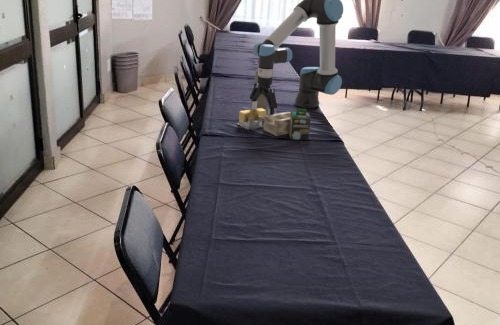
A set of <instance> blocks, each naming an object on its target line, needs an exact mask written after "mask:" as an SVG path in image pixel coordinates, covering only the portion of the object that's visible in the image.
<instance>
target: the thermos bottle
mask: <svg viewBox="0 0 500 325" xmlns="http://www.w3.org/2000/svg"><path fill="white" fill-rule="evenodd" d="M258 66H259V64H258V65H257V66H256V69H255V76H254V83H257V79H258V76H259V75H258ZM256 101H257V109H258V108H262V109H265V110H266V111H267V108H268V102H267V99H266V97H265V96H264V95H263V94H261V95H260V96H259V97H258V99H257V100H256Z"/></svg>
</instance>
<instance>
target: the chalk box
mask: <svg viewBox="0 0 500 325" xmlns="http://www.w3.org/2000/svg"><path fill="white" fill-rule="evenodd" d="M307 109H308V108H297V109H296V111H290V113H291V116H290V128H289V133H288V135H289V140H297V141H298V140H299V141H309V139H310V132H311V131H310V130H311V122H312V118H311V115H310V112H307V111H308V110H307Z"/></svg>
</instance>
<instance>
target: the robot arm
mask: <svg viewBox="0 0 500 325" xmlns="http://www.w3.org/2000/svg"><path fill="white" fill-rule="evenodd" d="M343 13H344V4H343V2H342V1H341V0H302V1H300V2H299V3H298V4H297V5H295V7H294V8H293V10H292V12H291V13H290V15H288V17H286V18H285V20H283V21H282V23H280V25H278V27H277V28H276V29H275V30H273V32H272V33H271V34H270V35H269V36H267V38H266V39H265V40H264V41H262V42H257V43H255V44H254V45H253V47H252V53H253V55H254V57H256V58H258V65H259V66H258V65H257V66H258V75H259V76H258V79H257V83H255V82H254V84H253V89H252V90H251V93H250V96H249V99H250V100H251V109H257V101H256V100H257V99H258V97H259V96H260V95H261V94H263V95H264V96H265V97H266V99H267V105H268V107H269V108H268V110H267V111H268V112H267V115H272V114H275V113H274V112H275V109H277V108H278V102H277V98H276V94H275V93H276V92H275V88H271V86H272V85H273V75H274V66H275V64H276V65H277V64H285V63H286V64H287V63H289V62H291V61H292V59H293V51H292V49H291V48H289V47H284V46H283V47H280V46H281V45H283V42H285V41H286V40H287V39H288V37H290V36H291V35H292V34H293V33H294V32H295V31H296V30H297V28H299V27H300V25H301V24H302V23H303V22H304V23H306V22H307V21H308V20H309V19H311V18H315V19H316V24H317V25H318V27H319V66H306V67H302V68H301V69H300V73H299V83H298V92H297V94H296V97H295V99H294V105H295V106H296V107H298V108H302V109H315V107H317V106H318V107H320V100H319V94H318V93H319V92H320V93H323V94H325V95H330V96H332V95H335V94H337V93H338V91H339V90H340V88H341V87H342V83H343V80H342V77H341V76H340V75H339V72H338V70H339V69H337V68H336V26H337V25H338V23H339V20H341V19H342V15H343ZM318 107H317V108H318Z"/></svg>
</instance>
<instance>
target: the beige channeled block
mask: <svg viewBox="0 0 500 325" xmlns="http://www.w3.org/2000/svg"><path fill="white" fill-rule="evenodd" d="M290 116H291V111H285V112H280V113H278V112H277V113H274V114H272V115H268V114H266V116H265V118H264V119H263V131H265V132H267V133H270V134H272V136H273V135H274V136H275V137H278V136H282V135H289V128H290Z"/></svg>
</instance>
